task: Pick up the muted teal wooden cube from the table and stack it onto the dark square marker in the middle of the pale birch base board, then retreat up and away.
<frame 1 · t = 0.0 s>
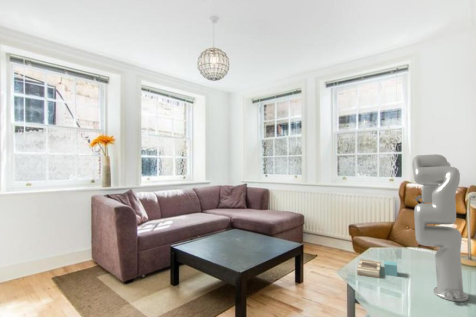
hand: (432, 211, 162), 31 cm above the table, tool pointing down, fingers open, 9 cm apart
teal block: (391, 273, 148), on the table
birch base: (369, 270, 153), on the table
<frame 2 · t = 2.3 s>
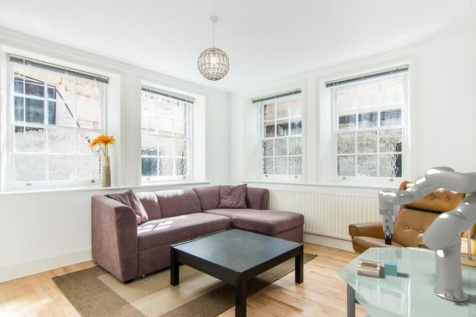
hand: (388, 242, 149), 17 cm above the table, tool pointing down, fingers open, 9 cm apart
nothing on the table moved.
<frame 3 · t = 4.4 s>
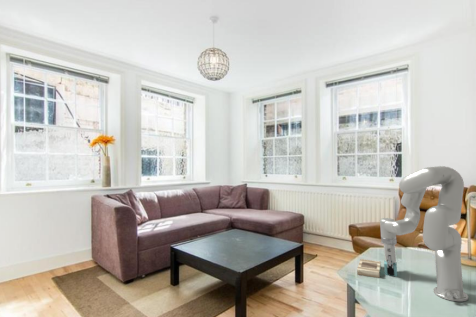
hand: (390, 272, 148), 1 cm above the table, tool pointing down, fingers closed on teal block, 6 cm apart
teal block: (391, 273, 148), on the table, touching gripper
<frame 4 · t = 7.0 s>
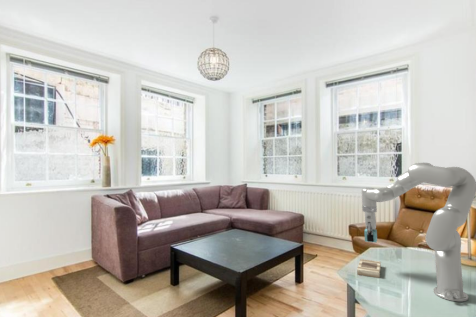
hand: (370, 239, 153), 18 cm above the table, tool pointing down, fingers closed on teal block, 6 cm apart
teal block: (371, 240, 153), point 18 cm above the table, touching gripper
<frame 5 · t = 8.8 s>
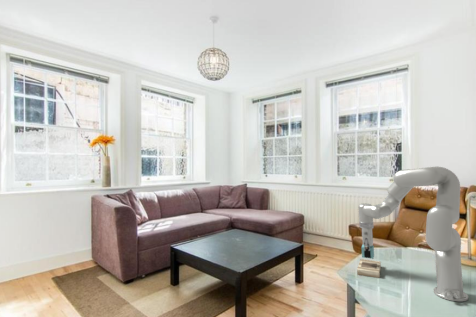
hand: (368, 255, 154), 9 cm above the table, tool pointing down, fingers closed on teal block, 6 cm apart
teal block: (368, 256, 154), point 8 cm above the table, touching gripper
when the fingers open (6 cm above the table, at t = 9.9 s): teal block drops 2 cm, resting on birch base.
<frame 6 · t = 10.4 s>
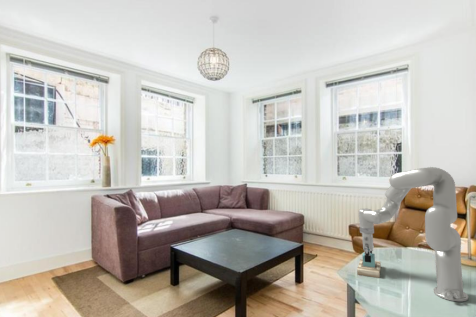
hand: (368, 259, 154), 6 cm above the table, tool pointing down, fingers open, 9 cm apart
teal block: (369, 265, 153), point 3 cm above the table, touching birch base
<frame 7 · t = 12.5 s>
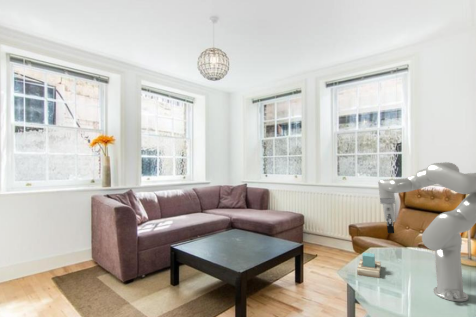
hand: (390, 231, 149), 24 cm above the table, tool pointing down, fingers open, 9 cm apart
nothing on the table moved.
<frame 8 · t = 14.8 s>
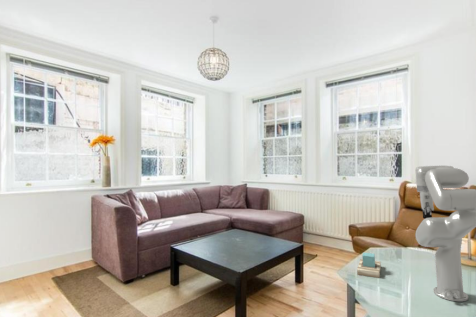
hand: (427, 220, 143), 30 cm above the table, tool pointing down, fingers open, 9 cm apart
nothing on the table moved.
at the end: teal block inside the target area on the birch base (0.1 cm from its centre), point 3.2 cm above the birch base's base; teal block tilted 0°; the gripper is holding nothing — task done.
